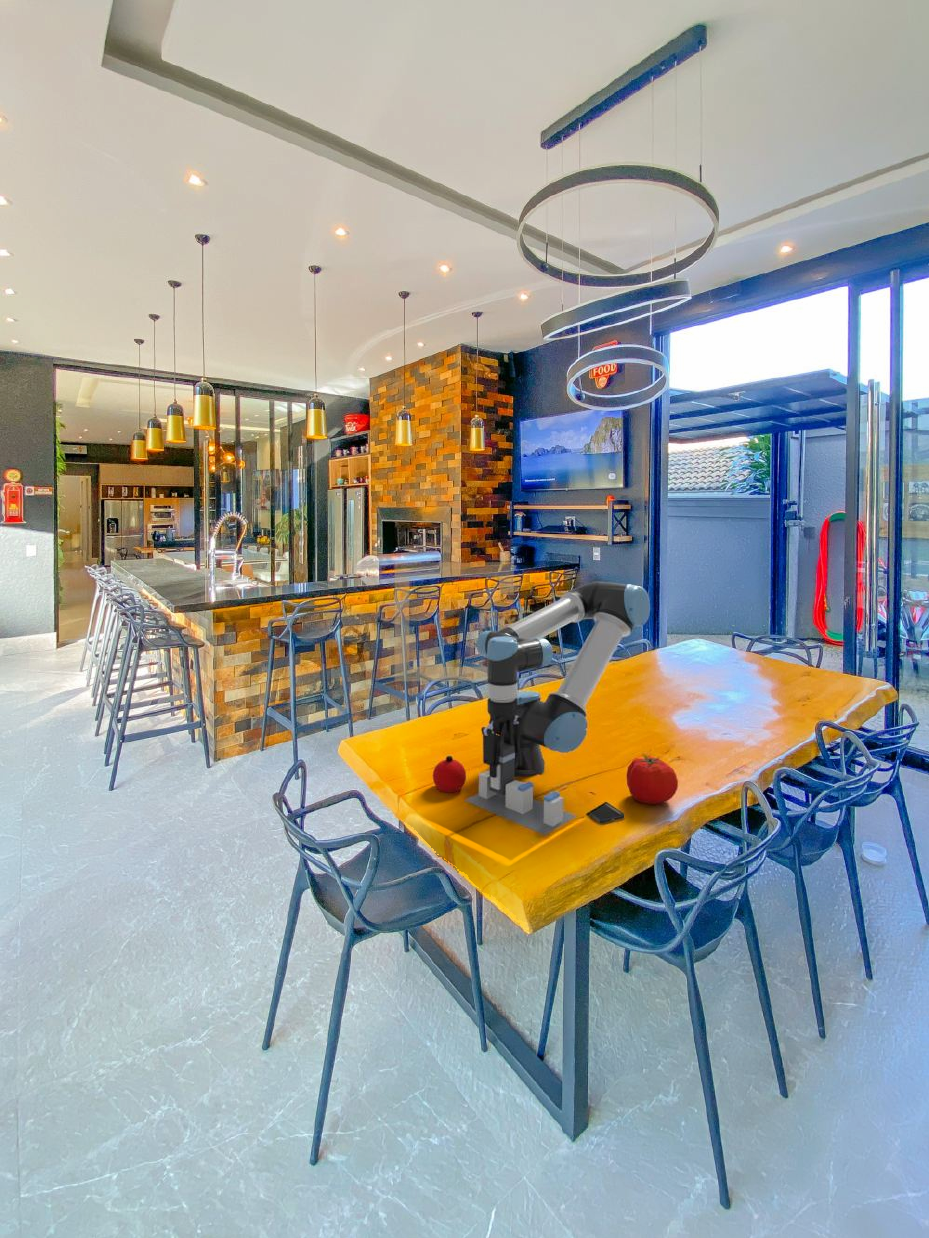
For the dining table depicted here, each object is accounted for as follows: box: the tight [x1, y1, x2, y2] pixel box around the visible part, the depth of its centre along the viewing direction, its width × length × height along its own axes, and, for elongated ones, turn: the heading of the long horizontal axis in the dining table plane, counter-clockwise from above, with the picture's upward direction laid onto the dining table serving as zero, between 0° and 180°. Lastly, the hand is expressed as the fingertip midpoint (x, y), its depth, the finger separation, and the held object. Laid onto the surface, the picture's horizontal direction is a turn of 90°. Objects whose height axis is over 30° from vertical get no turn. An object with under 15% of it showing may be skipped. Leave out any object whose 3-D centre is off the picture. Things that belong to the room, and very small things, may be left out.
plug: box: [490, 742, 515, 795], centre depth 165 cm, size 5×5×12 cm
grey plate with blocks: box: [464, 769, 577, 838], centre depth 162 cm, size 13×26×8 cm, turn 46°
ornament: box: [432, 755, 467, 794], centre depth 173 cm, size 9×9×10 cm
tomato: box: [626, 753, 679, 805], centre depth 168 cm, size 12×13×12 cm
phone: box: [586, 791, 625, 824], centre depth 164 cm, size 8×1×15 cm
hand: (502, 784), depth 166 cm, fingers closed on plug, 4 cm apart
